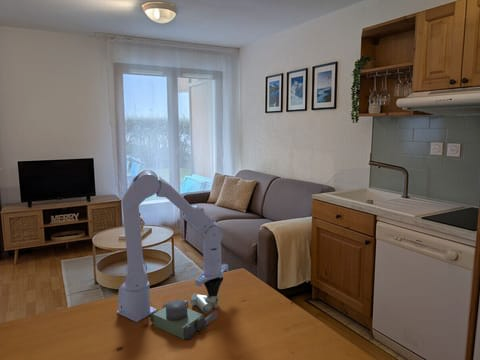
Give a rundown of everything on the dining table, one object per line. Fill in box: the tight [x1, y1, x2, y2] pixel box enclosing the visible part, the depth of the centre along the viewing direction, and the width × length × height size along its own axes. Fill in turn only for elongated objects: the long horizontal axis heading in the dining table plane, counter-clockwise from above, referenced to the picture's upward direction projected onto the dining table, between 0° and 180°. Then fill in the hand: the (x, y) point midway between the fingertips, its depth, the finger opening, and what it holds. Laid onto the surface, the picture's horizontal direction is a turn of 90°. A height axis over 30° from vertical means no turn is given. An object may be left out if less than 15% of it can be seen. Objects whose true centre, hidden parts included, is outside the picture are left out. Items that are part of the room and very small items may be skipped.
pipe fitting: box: [190, 293, 219, 315], centre depth 112 cm, size 8×4×7 cm
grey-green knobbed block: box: [149, 299, 218, 340], centre depth 105 cm, size 14×14×6 cm
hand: (212, 298), depth 116 cm, fingers closed
